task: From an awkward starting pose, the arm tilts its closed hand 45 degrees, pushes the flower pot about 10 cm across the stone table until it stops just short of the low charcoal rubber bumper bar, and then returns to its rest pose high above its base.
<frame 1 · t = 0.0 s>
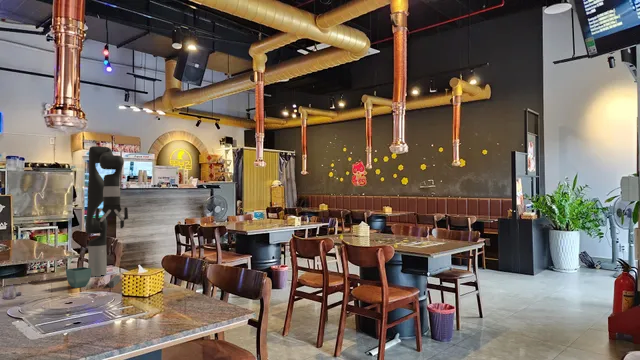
hand: (111, 228, 201), 29 cm above the table, tool pointing down, fingers open, 8 cm apart
bumper bar: (114, 284, 212), on the table
flower pot: (78, 287, 208), on the table
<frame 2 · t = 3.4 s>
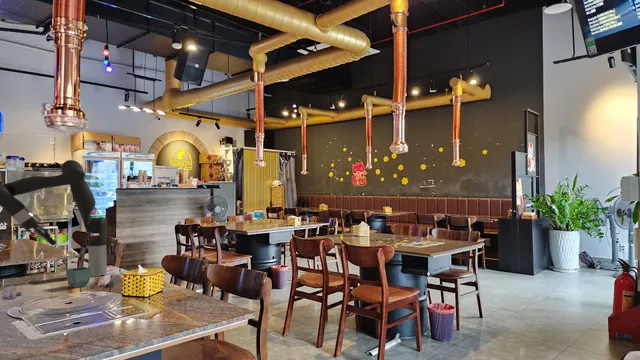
hand: (54, 244, 203), 22 cm above the table, tool tilted 40°, fingers closed
nothing on the table moved.
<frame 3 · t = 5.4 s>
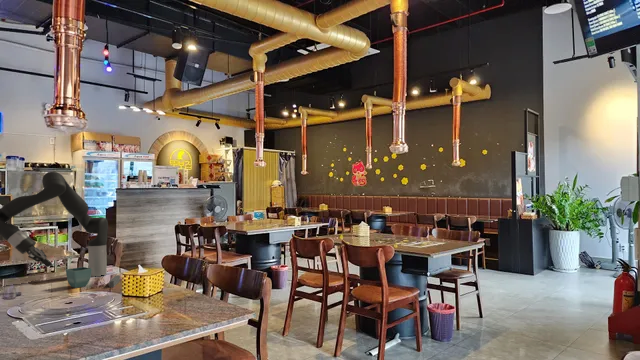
hand: (50, 265, 204), 11 cm above the table, tool tilted 45°, fingers closed
nothing on the table moved.
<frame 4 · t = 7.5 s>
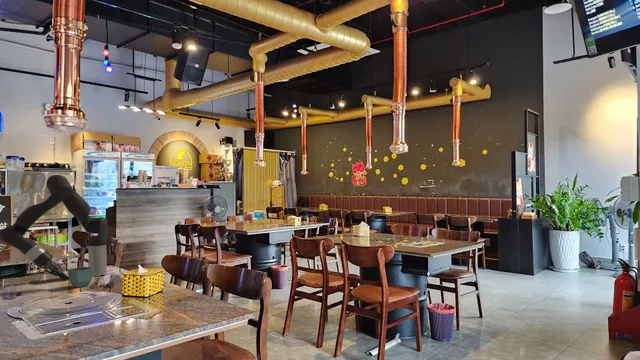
hand: (66, 279, 206), 4 cm above the table, tool tilted 45°, fingers closed
flower pot: (80, 286, 208), on the table, touching gripper
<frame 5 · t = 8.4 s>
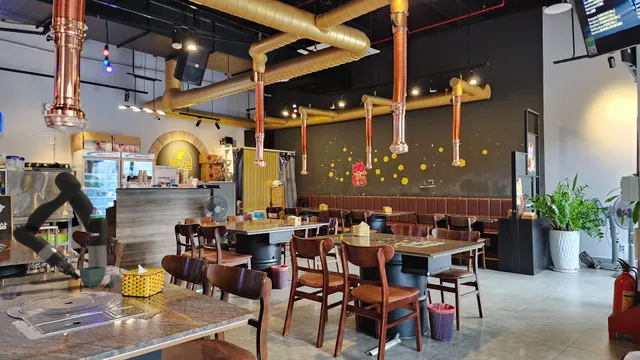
hand: (78, 278, 207), 4 cm above the table, tool tilted 45°, fingers closed
flower pot: (92, 286, 209), on the table, touching gripper
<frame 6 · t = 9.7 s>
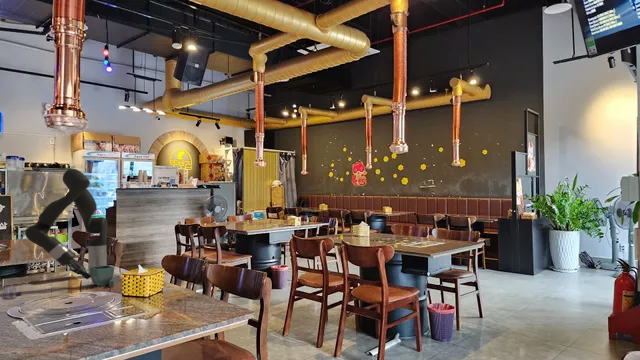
hand: (89, 277, 209), 4 cm above the table, tool tilted 45°, fingers closed
flower pot: (101, 285, 211), on the table, touching bumper bar, gripper
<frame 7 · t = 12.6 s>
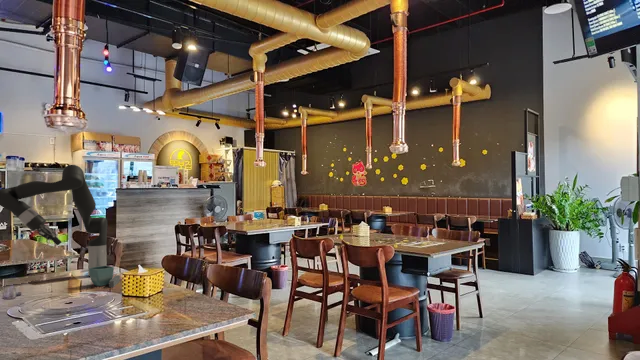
hand: (59, 243, 207), 22 cm above the table, tool tilted 45°, fingers closed
flower pot: (101, 285, 211), on the table
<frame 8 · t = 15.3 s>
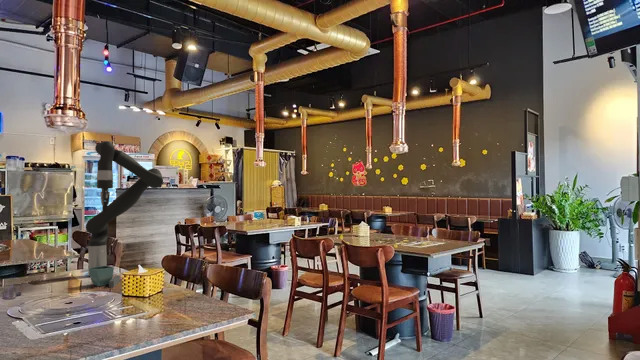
hand: (104, 212, 217), 37 cm above the table, tool pointing down, fingers closed
nothing on the table moved.
at the end: flower pot 6.1 cm from the bumper bar (horizontally); flower pot tilted 0°; flower pot moved 10.4 cm from its start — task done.
